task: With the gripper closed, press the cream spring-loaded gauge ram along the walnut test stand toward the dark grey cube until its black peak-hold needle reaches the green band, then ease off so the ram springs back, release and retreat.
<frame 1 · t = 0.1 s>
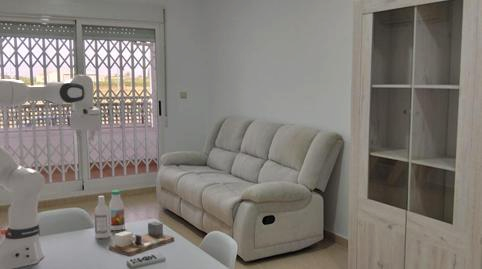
hand: (85, 140, 215), 48 cm above the table, fingers open, 8 cm apart
test stand: (142, 244, 212), on the table
dark grey cube: (155, 237, 222), resting on test stand
bath foam: (102, 237, 225), on the table
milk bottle: (117, 229, 237), on the table
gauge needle: (139, 240, 207), point 4 cm above the table, slide at 0.0 cm
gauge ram: (127, 238, 207), point 4 cm above the table, slide at 0.0 cm
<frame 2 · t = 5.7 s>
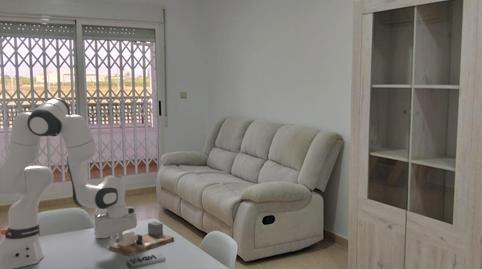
hand: (116, 242, 204), 4 cm above the table, fingers closed
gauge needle: (140, 240, 207), point 4 cm above the table, slide at 0.6 cm, touching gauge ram
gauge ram: (129, 238, 208), point 4 cm above the table, slide at 1.1 cm, touching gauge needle, gripper
everything else where it was.
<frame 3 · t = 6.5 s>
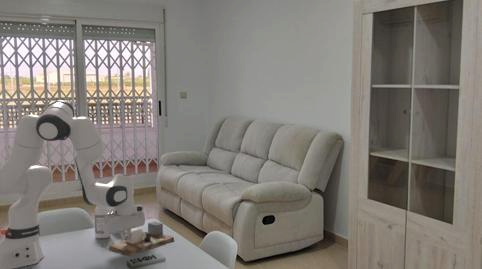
hand: (125, 239, 208), 4 cm above the table, fingers closed
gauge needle: (148, 237, 211), point 4 cm above the table, slide at 5.3 cm, touching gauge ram
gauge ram: (137, 235, 212), point 4 cm above the table, slide at 5.8 cm, touching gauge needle, gripper
everything else where it was.
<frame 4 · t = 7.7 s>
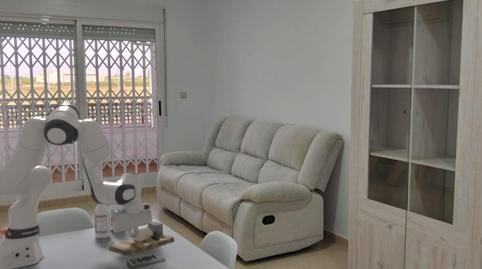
hand: (132, 237, 211), 4 cm above the table, fingers closed
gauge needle: (155, 235, 214), point 4 cm above the table, slide at 9.4 cm, touching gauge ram
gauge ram: (144, 233, 215), point 4 cm above the table, slide at 9.9 cm, touching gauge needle, gripper
everything else where it was.
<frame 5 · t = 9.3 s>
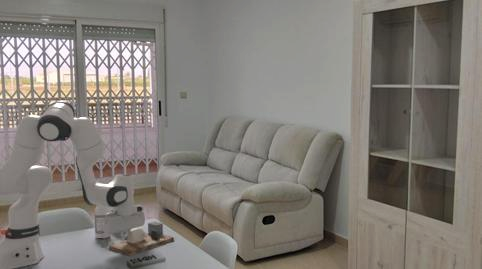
hand: (125, 239, 208), 4 cm above the table, fingers closed
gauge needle: (156, 235, 214), point 4 cm above the table, slide at 9.4 cm
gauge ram: (138, 235, 212), point 4 cm above the table, slide at 6.2 cm, touching gripper
everything else where it was.
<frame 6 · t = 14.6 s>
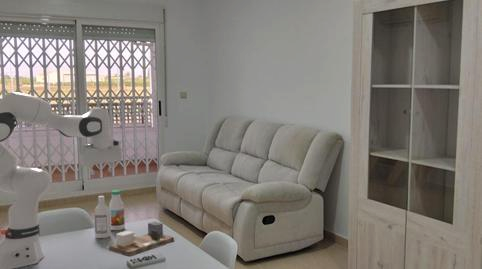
hand: (101, 173, 211), 33 cm above the table, fingers open, 8 cm apart
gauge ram: (128, 238, 208), point 4 cm above the table, slide at 0.8 cm
everything else where it was.
at the end: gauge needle slide at 9.4 cm; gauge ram slide at 0.8 cm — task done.
